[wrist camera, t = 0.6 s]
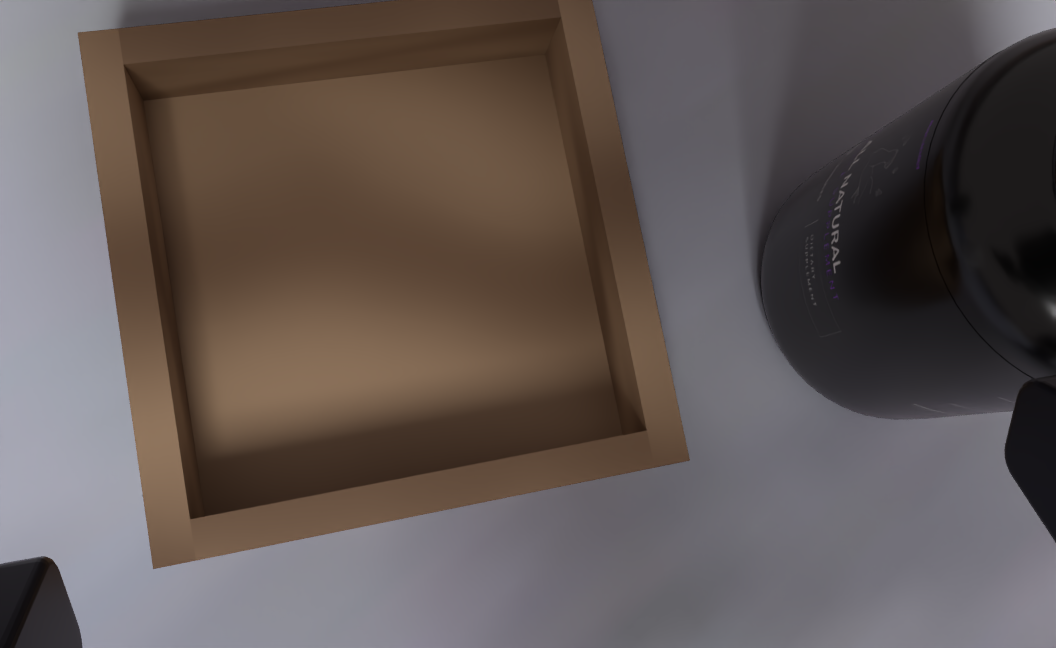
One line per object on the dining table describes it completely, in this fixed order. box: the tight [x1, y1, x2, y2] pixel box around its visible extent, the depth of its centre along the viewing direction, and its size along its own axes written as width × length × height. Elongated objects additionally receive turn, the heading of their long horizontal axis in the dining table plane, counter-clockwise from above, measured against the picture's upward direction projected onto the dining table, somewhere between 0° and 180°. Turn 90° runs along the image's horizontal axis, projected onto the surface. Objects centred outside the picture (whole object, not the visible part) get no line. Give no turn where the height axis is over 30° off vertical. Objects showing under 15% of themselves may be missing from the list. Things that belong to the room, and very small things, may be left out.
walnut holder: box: [78, 0, 690, 569], centre depth 22 cm, size 11×11×2 cm
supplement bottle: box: [761, 28, 1056, 420], centre depth 20 cm, size 7×7×12 cm
